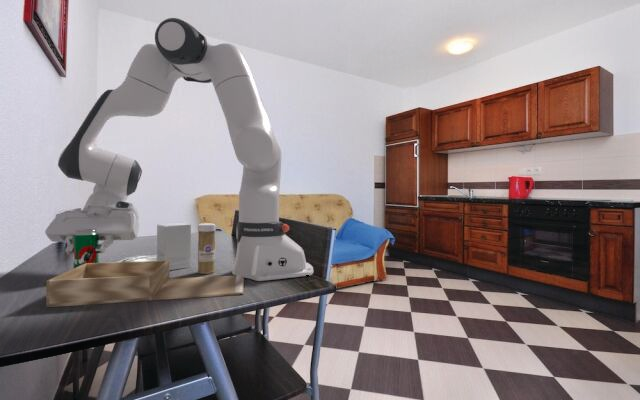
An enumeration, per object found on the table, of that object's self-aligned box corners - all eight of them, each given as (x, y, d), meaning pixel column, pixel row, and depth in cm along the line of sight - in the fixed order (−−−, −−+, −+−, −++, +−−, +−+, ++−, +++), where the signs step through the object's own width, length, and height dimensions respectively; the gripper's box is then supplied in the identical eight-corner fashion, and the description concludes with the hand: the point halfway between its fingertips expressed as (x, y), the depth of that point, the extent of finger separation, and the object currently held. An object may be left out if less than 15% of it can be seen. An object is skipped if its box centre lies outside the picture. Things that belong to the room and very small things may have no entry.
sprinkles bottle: (202, 275, 78) (202, 225, 78) (194, 272, 81) (195, 223, 81) (218, 272, 81) (218, 224, 81) (210, 269, 85) (210, 222, 84)
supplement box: (191, 267, 87) (191, 224, 86) (164, 271, 81) (164, 226, 81) (182, 262, 92) (182, 222, 92) (156, 266, 87) (156, 223, 86)
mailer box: (243, 276, 78) (243, 257, 78) (243, 294, 64) (243, 271, 64) (85, 284, 69) (85, 263, 69) (46, 307, 56) (46, 280, 55)
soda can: (103, 274, 77) (103, 229, 77) (86, 280, 72) (86, 231, 72) (85, 273, 78) (85, 228, 78) (67, 279, 73) (67, 231, 73)
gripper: (54, 203, 79) (28, 246, 70) (139, 204, 84) (126, 244, 75) (64, 218, 83) (41, 260, 74) (145, 218, 88) (132, 257, 79)
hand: (84, 252), depth 74 cm, fingers closed on soda can, 5 cm apart
